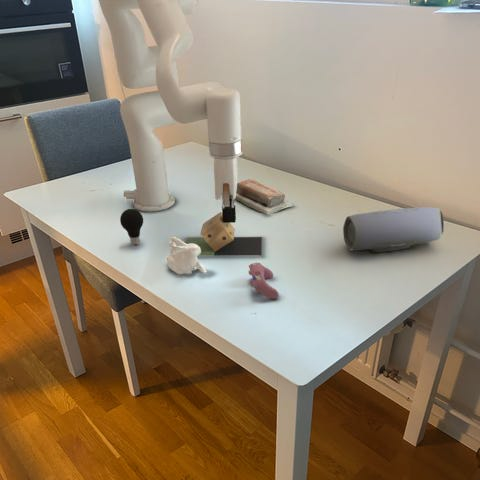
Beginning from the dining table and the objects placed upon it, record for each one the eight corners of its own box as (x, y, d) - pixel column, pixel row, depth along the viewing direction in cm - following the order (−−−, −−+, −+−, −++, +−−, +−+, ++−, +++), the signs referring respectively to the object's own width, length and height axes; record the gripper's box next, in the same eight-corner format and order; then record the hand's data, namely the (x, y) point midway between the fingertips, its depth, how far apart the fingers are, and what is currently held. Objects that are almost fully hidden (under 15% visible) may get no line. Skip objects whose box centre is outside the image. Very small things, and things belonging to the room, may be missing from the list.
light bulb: (128, 252, 130) (122, 216, 124) (122, 242, 134) (115, 208, 128) (150, 246, 132) (144, 211, 126) (143, 237, 136) (137, 203, 131)
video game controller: (257, 283, 119) (243, 261, 115) (274, 274, 118) (260, 252, 114) (262, 307, 111) (247, 284, 107) (280, 298, 110) (266, 274, 106)
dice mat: (182, 257, 127) (182, 255, 127) (187, 239, 135) (187, 237, 135) (261, 256, 126) (261, 255, 125) (261, 238, 134) (261, 236, 134)
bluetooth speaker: (422, 234, 133) (430, 198, 127) (440, 251, 125) (448, 213, 119) (340, 243, 130) (344, 207, 124) (353, 261, 123) (357, 223, 117)
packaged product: (229, 183, 154) (255, 175, 159) (230, 198, 157) (255, 190, 161) (266, 200, 142) (293, 191, 147) (266, 216, 145) (292, 207, 150)
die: (214, 252, 128) (200, 234, 125) (216, 241, 132) (202, 223, 130) (233, 239, 125) (219, 221, 123) (235, 229, 130) (221, 211, 127)
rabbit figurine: (212, 273, 120) (209, 237, 114) (189, 287, 115) (185, 249, 110) (177, 258, 126) (173, 223, 121) (155, 270, 122) (149, 234, 116)
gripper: (212, 138, 121) (216, 209, 132) (206, 158, 109) (212, 234, 120) (243, 137, 121) (245, 208, 132) (240, 157, 109) (243, 234, 119)
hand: (229, 221), depth 126 cm, fingers closed
